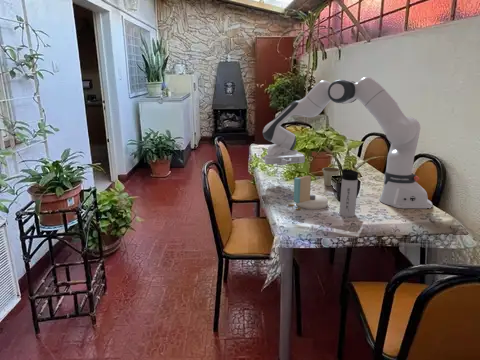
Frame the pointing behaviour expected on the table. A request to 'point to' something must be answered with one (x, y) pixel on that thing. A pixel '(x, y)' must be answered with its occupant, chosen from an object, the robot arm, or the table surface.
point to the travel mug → (348, 193)
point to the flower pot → (329, 174)
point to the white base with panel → (307, 194)
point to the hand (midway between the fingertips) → (288, 162)
